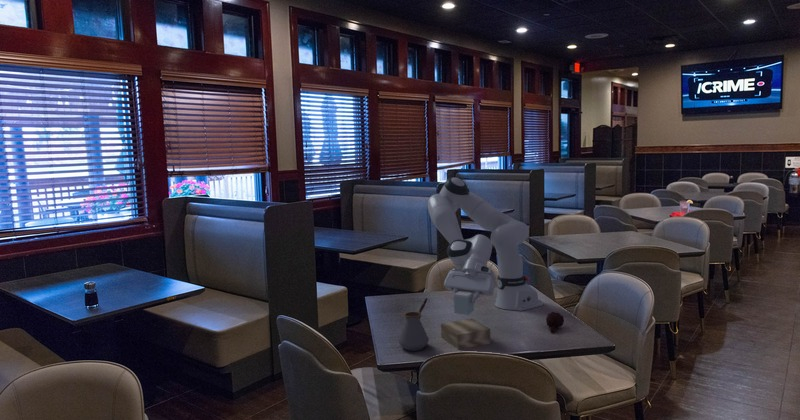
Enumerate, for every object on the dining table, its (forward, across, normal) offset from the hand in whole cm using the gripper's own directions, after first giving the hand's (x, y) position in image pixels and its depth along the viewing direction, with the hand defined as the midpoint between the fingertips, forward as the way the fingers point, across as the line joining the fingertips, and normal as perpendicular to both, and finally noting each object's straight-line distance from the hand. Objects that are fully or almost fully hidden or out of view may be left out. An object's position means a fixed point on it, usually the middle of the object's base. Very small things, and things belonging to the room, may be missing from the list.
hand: (463, 301), depth 209 cm
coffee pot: (+18, -15, +4) cm, 24 cm away
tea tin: (+3, 0, +4) cm, 4 cm away
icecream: (-10, +27, +32) cm, 43 cm away
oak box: (+11, 0, +12) cm, 16 cm away
